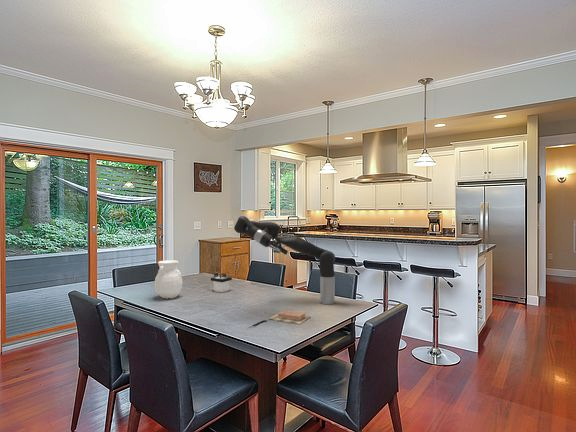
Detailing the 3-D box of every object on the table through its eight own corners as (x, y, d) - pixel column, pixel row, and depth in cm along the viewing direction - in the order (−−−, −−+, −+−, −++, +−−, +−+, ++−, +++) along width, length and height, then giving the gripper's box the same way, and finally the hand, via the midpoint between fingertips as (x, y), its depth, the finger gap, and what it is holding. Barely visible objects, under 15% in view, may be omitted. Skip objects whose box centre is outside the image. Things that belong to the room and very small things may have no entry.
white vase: (166, 293, 259) (166, 259, 258) (188, 295, 253) (187, 260, 252) (148, 299, 241) (148, 262, 241) (171, 301, 235) (170, 263, 235)
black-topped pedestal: (246, 290, 270) (246, 272, 270) (222, 297, 248) (222, 278, 248) (219, 285, 285) (219, 269, 285) (194, 292, 263) (194, 274, 263)
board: (268, 319, 196) (268, 318, 196) (280, 312, 208) (280, 311, 208) (299, 324, 187) (299, 323, 187) (310, 317, 199) (310, 316, 199)
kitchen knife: (277, 323, 189) (263, 320, 195) (277, 322, 189) (263, 319, 195) (241, 340, 165) (225, 336, 171) (241, 339, 165) (225, 335, 171)
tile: (278, 313, 196) (299, 316, 190) (284, 309, 203) (305, 312, 197) (278, 317, 196) (299, 321, 190) (284, 314, 204) (305, 317, 197)
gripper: (266, 227, 207) (290, 242, 202) (267, 239, 218) (290, 254, 213) (258, 236, 204) (283, 251, 198) (259, 248, 215) (283, 263, 209)
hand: (286, 253), depth 205 cm, fingers closed
